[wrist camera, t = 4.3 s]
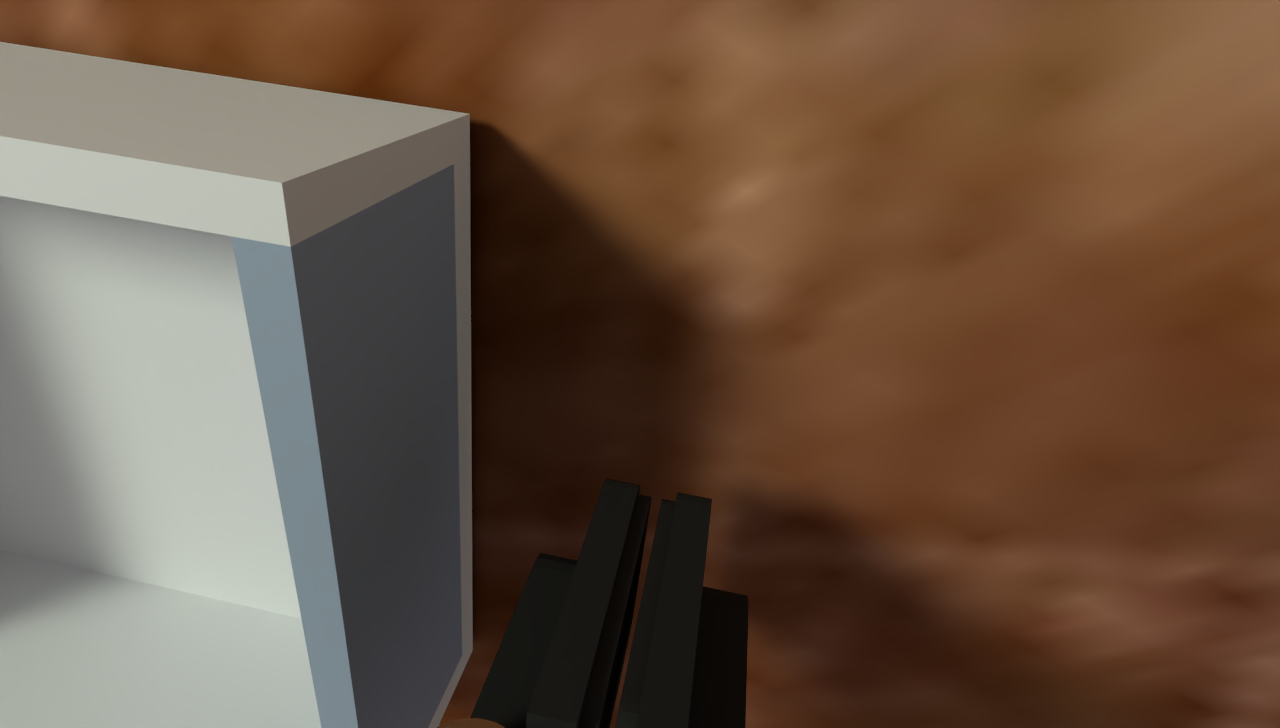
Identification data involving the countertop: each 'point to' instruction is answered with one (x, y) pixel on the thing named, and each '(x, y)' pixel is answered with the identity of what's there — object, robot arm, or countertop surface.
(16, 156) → the white sliding drawer box
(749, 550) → the countertop surface
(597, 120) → the countertop surface
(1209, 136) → the countertop surface
